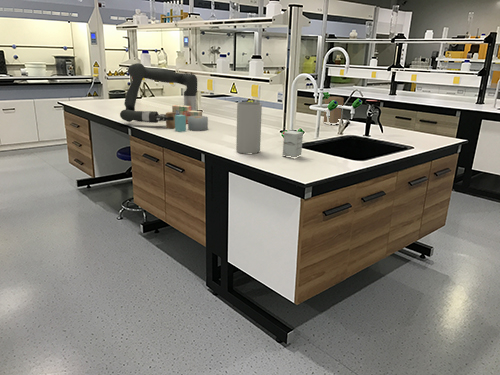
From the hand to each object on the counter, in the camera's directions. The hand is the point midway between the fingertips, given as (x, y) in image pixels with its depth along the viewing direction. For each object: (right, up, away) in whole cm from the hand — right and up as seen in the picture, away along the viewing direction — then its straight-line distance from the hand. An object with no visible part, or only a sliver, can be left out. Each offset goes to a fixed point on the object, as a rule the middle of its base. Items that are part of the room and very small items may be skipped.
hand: (174, 118), depth 264 cm
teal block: (+5, -10, -7) cm, 13 cm away
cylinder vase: (+49, -28, -56) cm, 79 cm away
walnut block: (-3, -6, +2) cm, 7 cm away
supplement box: (+72, -31, -63) cm, 100 cm away
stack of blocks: (+5, -1, +20) cm, 21 cm away
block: (+113, +2, +36) cm, 118 cm away
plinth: (+16, -7, 0) cm, 17 cm away
